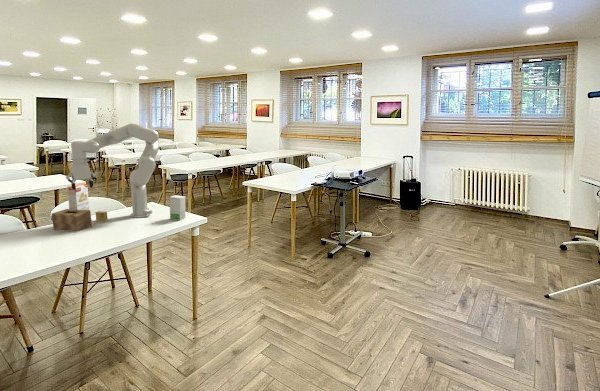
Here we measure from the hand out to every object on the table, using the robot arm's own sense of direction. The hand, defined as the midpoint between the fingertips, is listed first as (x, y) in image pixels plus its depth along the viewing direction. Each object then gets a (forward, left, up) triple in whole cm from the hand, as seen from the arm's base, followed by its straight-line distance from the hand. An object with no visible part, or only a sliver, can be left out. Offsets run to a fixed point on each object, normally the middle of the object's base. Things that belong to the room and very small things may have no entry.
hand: (82, 188), depth 235 cm
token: (-8, -5, -22) cm, 24 cm away
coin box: (-2, +13, -22) cm, 26 cm away
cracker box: (+16, -15, -22) cm, 31 cm away
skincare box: (-53, -21, -22) cm, 61 cm away
